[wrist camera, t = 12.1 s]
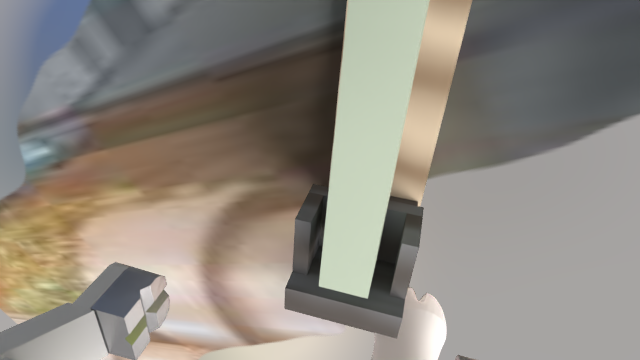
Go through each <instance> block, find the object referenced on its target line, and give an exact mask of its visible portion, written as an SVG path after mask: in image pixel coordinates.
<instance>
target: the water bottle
mask: <svg viewBox="0 0 640 360" xmlns="http://www.w3.org/2000/svg"><path fill="white" fill-rule="evenodd" d="M374 334H375V344H374V351H373V355H372V359H371V360H438V357H439V354H440V351H441V348H442V346H443V344H444V342H445V339H446V321H445V317H444V313H443V311H442V308H441V306H440V305H439V303H438V301H437V300H436V299H435V298H434V297H433V296H432V295H431V294H428V293H426V294H425V295H424V296H422V298H421V299H420V301H419V300H418V299H417V297H416V294H415V291H414V289H413V288H412V287H408V291H407V294H406V298H405V304H404V311H403V318H402V322H401V326H400V329H399V333H398V337H397V339H396V338H392V337H389V336H385V335H381V334H377V333H374Z"/></svg>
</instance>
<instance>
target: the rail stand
mask: <svg viewBox="0 0 640 360" xmlns="http://www.w3.org/2000/svg"><path fill="white" fill-rule="evenodd" d="M471 3H472V0H430V1H429V6H428V11H427V16H426V21H425V26H424V31H423V36H422V41H421V45H420V50H419V55H418V60H417V65H416V70H415V75H414V80H413V85H412V90H411V95H410V100H409V104H408V109H407V114H406V119H405V124H404V129H403V134H402V139H401V144H400V149H399V154H398V159H397V163H396V168H395V173H394V178H393V183H392V188H391V193H390V198H389V203H388V208H387V213H386V218H385V223H384V227H383V232H382V237H381V242H380V247H379V251H378V256H377V260H376V264H375V269H374V273H373V278H372V282H371V286H370V291H369V295H368V299H366V298H362V297H359V296H355V295H351V294H347V293H343V292H339V291H335V290H331V289H327V288H324V287H320V286H319V278H320V268H321V259H322V249H323V239H324V230H325V220H326V211H327V201H328V192H329V187H325V186H320V185H316V184H313V185H312V187H311V189H310V191H309V193H308V195H307V197H306V199H305V201H304V203H303V205H302V207H301V209H300V211H299V213H298V215H297V217H296V219H295V235H294V254H293V272H292V274H291V276H290V279H289V281H288V283H287V285H286V288H285V309H288V310H292V311H295V312H299V313H303V314H306V315H310V316H314V317H318V318H321V319H325V320H329V321H333V322H336V323H340V324H344V325H348V326H351V327H355V328H359V329H363V330H366V331H370V332H374V333H377V334H381V335H385V336H389V337H392V338H396V339H397V337H398V333H399V329H400V326H401V322H402V318H403V311H404V304H405V298H406V294H407V291H408V287H409V283H410V279H411V276H412V272H413V268H414V264H415V261H416V257H417V253H418V249H419V243H420V234H421V225H422V217H423V209H424V208H423V207H420V205H421V201H422V197H423V193H424V189H425V185H426V181H427V177H428V173H429V169H430V165H431V161H432V157H433V153H434V150H435V146H436V142H437V138H438V134H439V130H440V126H441V122H442V118H443V114H444V110H445V106H446V102H447V98H448V94H449V90H450V86H451V82H452V78H453V74H454V70H455V66H456V62H457V58H458V54H459V51H460V47H461V43H462V39H463V35H464V31H465V27H466V23H467V19H468V15H469V11H470V7H471ZM347 10H348V0H347V8H346V18H345V28H344V38H345V29H346V19H347ZM344 38H343V48H344ZM343 48H342V58H343ZM342 58H341V67H342ZM340 77H341V68H340ZM339 86H340V78H339ZM338 96H339V88H338ZM337 105H338V98H337ZM336 115H337V108H336ZM335 125H336V118H335ZM334 134H335V128H334ZM333 144H334V138H333ZM332 153H333V147H332ZM331 163H332V157H331ZM330 172H331V167H330ZM329 182H330V177H329Z"/></svg>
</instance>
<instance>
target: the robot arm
mask: <svg viewBox="0 0 640 360" xmlns="http://www.w3.org/2000/svg"><path fill="white" fill-rule="evenodd" d="M166 285H167V283H166V279H165V276H161V275H158V274H155V273H151V272H148V271H145V270H141V269H138V268H134V267H131V266H128V265H124V264H120V263H117V262H115V263H113V264H111V265H109V266H108V267H107V268H106V269H105V270H104V271H103V272H102V273H101V274H100V276H99V277H98V278H97V279H96V280H95V281H94V282H93V283H92V284H91V285H90V286H89V287H88V288H87V289H86V290H85V291H84V292H83V293H82V294H81V295H80V296H79V297H78V298H77V300H76V301H75V302H74V303H73V304H71V303H66V304H64V305H61V306H59V307H57V308H55V309H52V310H50V311H48V312H45V313H43V314H41V315H39V316H36V317H34V318H32V319H30V320H27V321H25V322H23V323H20V324H18V325H16V326H14V327H11V328H9V329H7V330H4V331H2V332H0V360H101V359H103V358H104V357H106V356H107V355H108V353H110V354H114V355H117V356H121V357H124V358H128V359H132V360H137V359H138V357H139V356H140V354H141V353H142V352H143V350H144V349H145V347H146V346H147V345H148V343H149V342H150V332H152V331H154V330H156V329H158V328H159V327H160V326H161V324H162V323H163V321H164V320H165V318H166V315H167V313H168V310H169V304H170V300H169V295H168V294H167V293H166V292H165V290H164V288H165V287H166ZM455 360H476V359H472V358H468V357H464V356H460V355H457V356H456V358H455Z"/></svg>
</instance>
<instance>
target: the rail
mask: <svg viewBox="0 0 640 360" xmlns="http://www.w3.org/2000/svg"><path fill="white" fill-rule="evenodd" d="M429 1H430V0H348V10H347V19H346V29H345V38H344V48H343V58H342V67H341V77H340V86H339V96H338V105H337V115H336V125H335V134H334V144H333V153H332V163H331V172H330V182H329V192H328V201H327V211H326V220H325V230H324V239H323V249H322V259H321V268H320V278H319V286H320V287H324V288H327V289H331V290H335V291H339V292H343V293H347V294H351V295H355V296H359V297H362V298H366V299H368V295H369V291H370V286H371V282H372V278H373V273H374V269H375V264H376V260H377V256H378V251H379V247H380V242H381V237H382V232H383V227H384V223H385V218H386V213H387V208H388V203H389V198H390V193H391V188H392V183H393V178H394V173H395V168H396V163H397V159H398V154H399V149H400V144H401V139H402V134H403V129H404V124H405V119H406V114H407V109H408V104H409V100H410V95H411V90H412V85H413V80H414V75H415V70H416V65H417V60H418V55H419V50H420V45H421V41H422V36H423V31H424V26H425V21H426V16H427V11H428V6H429Z"/></svg>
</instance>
